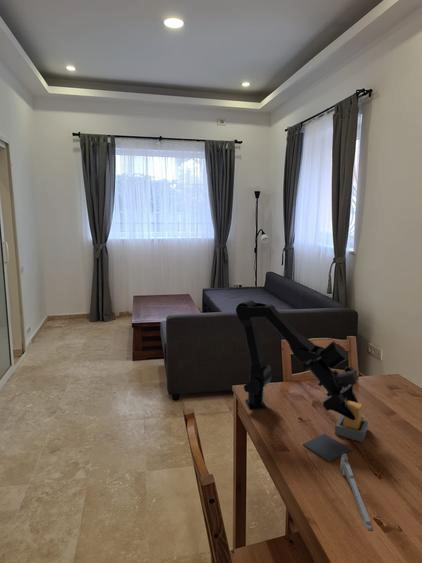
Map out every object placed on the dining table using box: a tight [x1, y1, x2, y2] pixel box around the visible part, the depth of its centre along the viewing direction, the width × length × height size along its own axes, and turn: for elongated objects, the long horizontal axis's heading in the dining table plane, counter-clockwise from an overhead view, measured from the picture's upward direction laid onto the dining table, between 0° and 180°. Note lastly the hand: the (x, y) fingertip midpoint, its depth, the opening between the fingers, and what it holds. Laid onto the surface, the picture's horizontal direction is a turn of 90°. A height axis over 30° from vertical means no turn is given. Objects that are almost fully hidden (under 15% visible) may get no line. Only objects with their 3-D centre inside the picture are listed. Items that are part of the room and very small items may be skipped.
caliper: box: [339, 453, 373, 531], centre depth 94 cm, size 20×1×6 cm, turn 178°
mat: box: [302, 433, 352, 463], centre depth 115 cm, size 10×10×1 cm
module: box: [343, 400, 363, 431], centre depth 123 cm, size 4×4×10 cm
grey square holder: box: [334, 414, 369, 443], centre depth 123 cm, size 8×8×3 cm
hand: (357, 414), depth 122 cm, fingers open, 7 cm apart
